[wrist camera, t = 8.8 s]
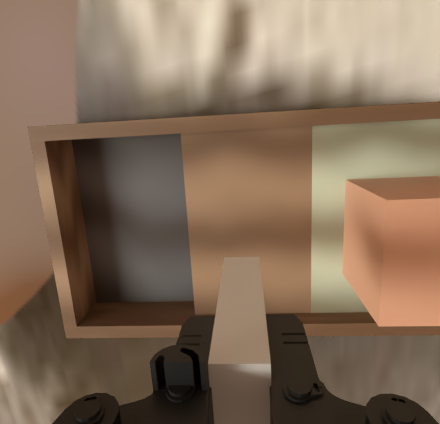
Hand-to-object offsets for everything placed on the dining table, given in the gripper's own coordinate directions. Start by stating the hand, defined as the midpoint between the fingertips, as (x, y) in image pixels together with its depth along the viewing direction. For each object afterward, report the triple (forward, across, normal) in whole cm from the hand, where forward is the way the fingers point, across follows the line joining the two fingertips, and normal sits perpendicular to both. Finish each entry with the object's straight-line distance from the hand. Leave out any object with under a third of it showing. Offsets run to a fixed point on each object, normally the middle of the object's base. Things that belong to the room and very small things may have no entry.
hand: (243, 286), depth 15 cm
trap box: (+13, +7, -1) cm, 15 cm away
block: (+11, +11, -1) cm, 15 cm away
